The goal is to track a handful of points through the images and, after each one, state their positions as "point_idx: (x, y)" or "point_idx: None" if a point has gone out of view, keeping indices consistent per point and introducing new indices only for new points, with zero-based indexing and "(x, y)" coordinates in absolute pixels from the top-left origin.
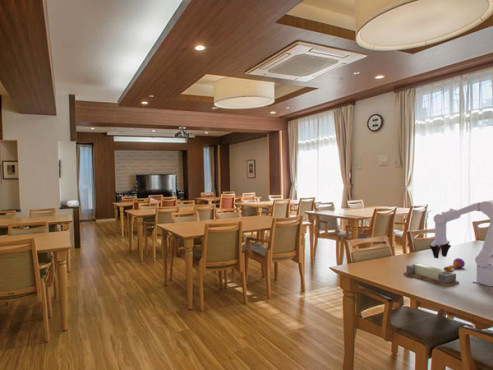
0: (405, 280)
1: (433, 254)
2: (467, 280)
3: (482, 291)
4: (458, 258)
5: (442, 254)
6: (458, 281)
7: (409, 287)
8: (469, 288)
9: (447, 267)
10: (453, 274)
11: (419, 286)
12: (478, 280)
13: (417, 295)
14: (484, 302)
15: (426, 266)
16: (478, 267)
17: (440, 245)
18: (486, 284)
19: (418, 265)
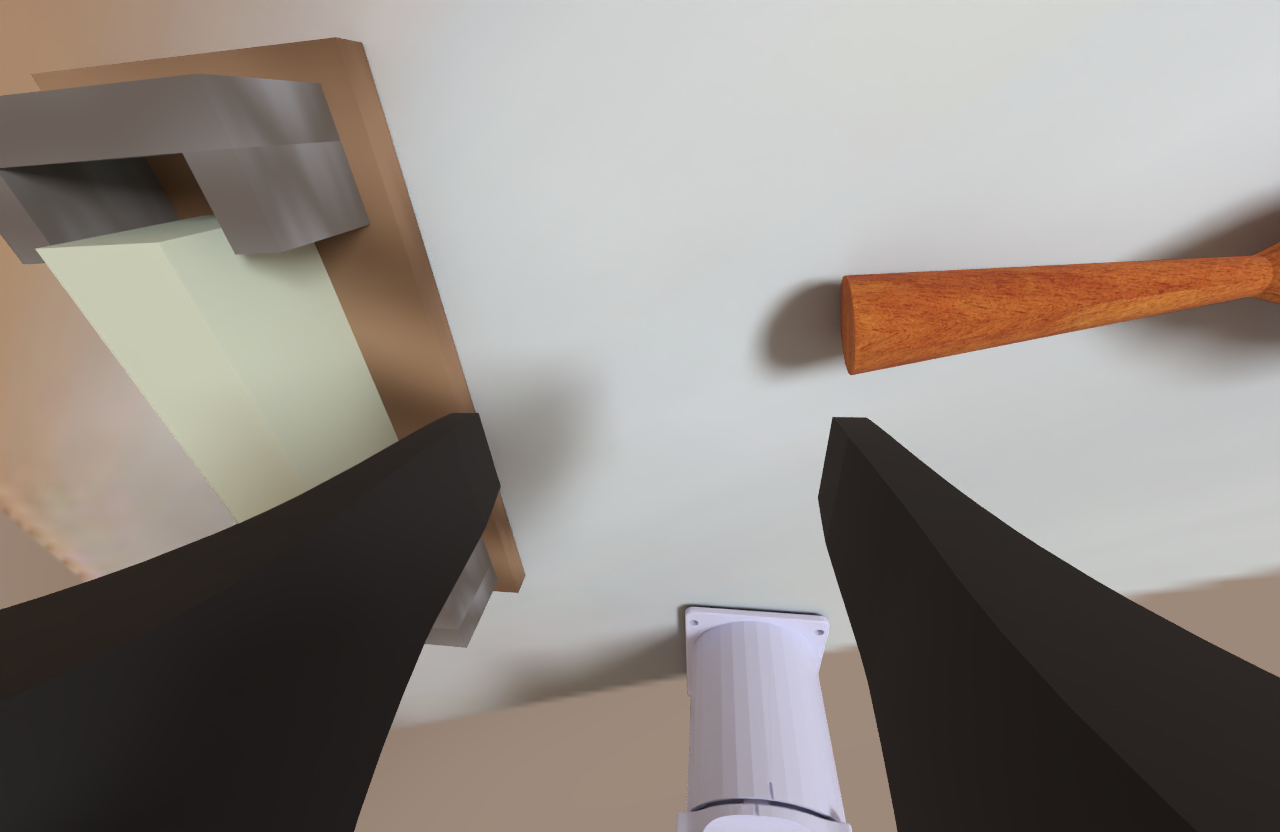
0: (40, 314)
1: (378, 462)
2: (692, 571)
3: (538, 682)
4: None
5: (848, 460)
6: (512, 591)
7: (39, 455)
8: (507, 638)
9: (854, 356)
10: (426, 641)
11: (137, 476)
12: (695, 654)
13: (63, 556)
14: (397, 718)
15: (222, 421)
16: (692, 798)
17: (1131, 805)
18: (688, 677)
19: (96, 326)
